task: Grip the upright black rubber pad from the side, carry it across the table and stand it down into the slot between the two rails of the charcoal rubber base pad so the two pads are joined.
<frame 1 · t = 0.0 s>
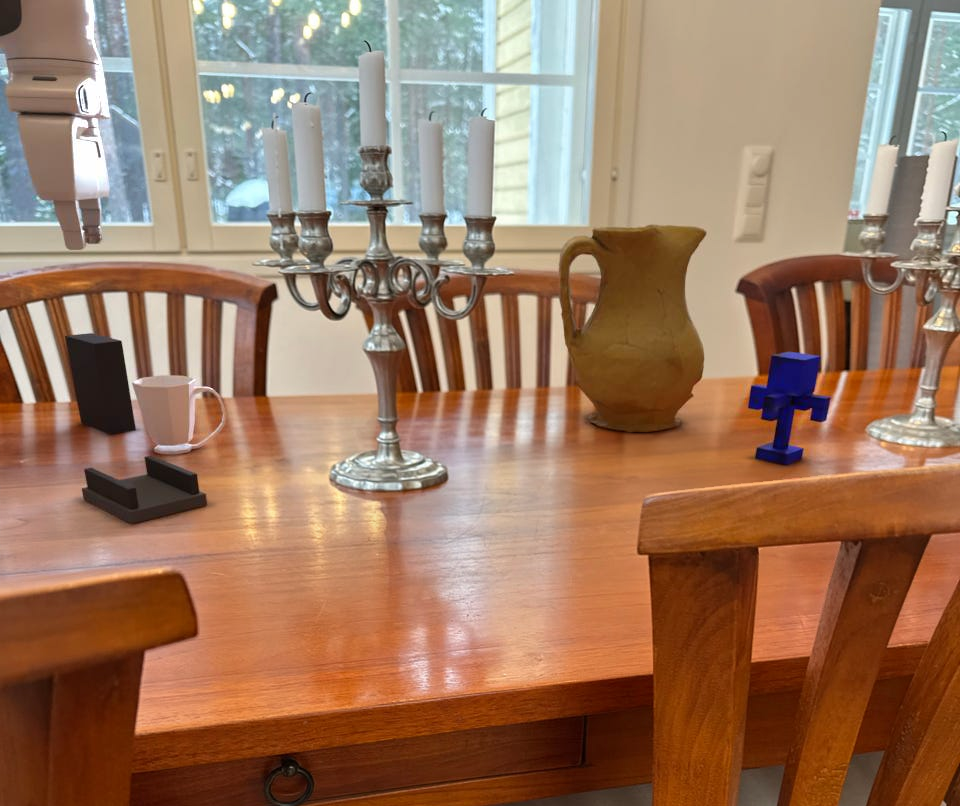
hand: (85, 246, 97), 22 cm above the table, tool pointing down, fingers open, 8 cm apart
pitcher: (626, 421, 124), on the table
upright pad: (108, 426, 116), on the table
base pad: (145, 502, 89), on the table
figurine: (778, 460, 108), on the table
cup: (187, 450, 107), on the table
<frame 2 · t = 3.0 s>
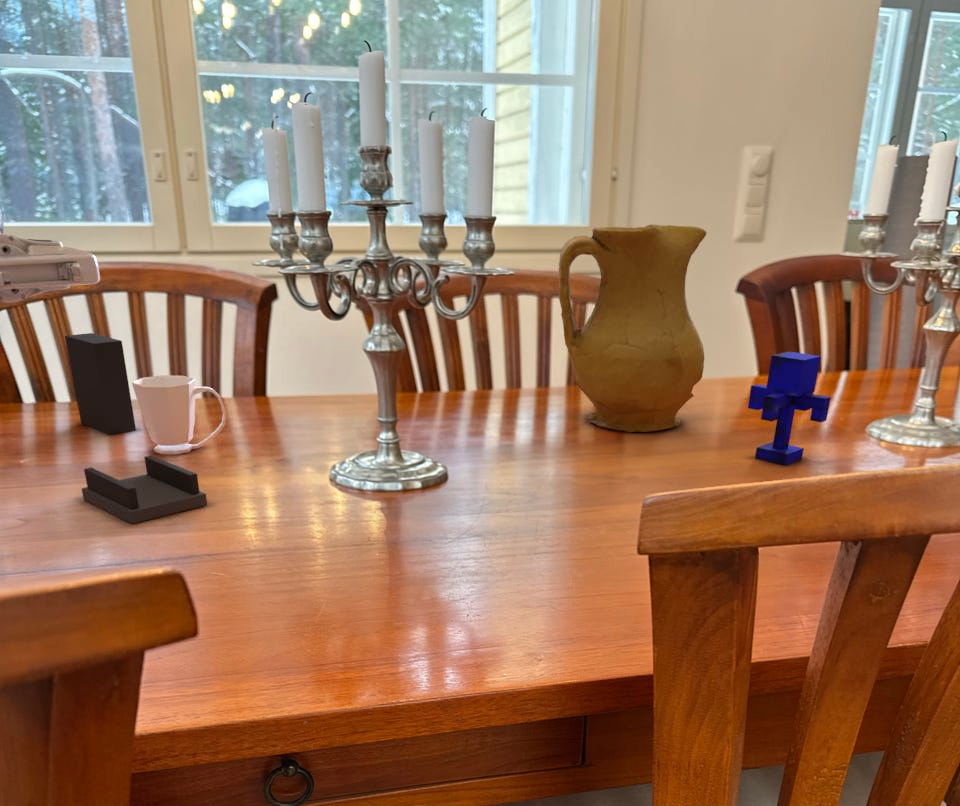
hand: (42, 276, 115), 17 cm above the table, tool horizontal, fingers open, 8 cm apart
nothing on the table moved.
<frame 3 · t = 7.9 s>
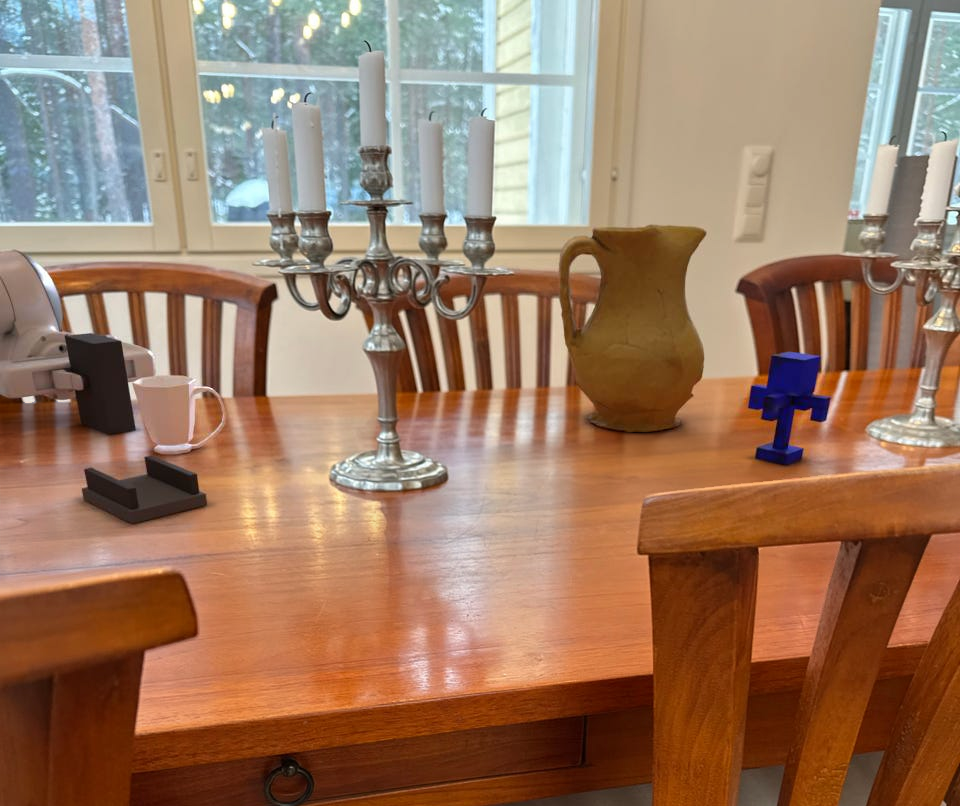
hand: (103, 380, 112), 6 cm above the table, tool horizontal, fingers closed on upright pad, 3 cm apart
upright pad: (108, 426, 116), on the table, touching gripper
everything else where it was.
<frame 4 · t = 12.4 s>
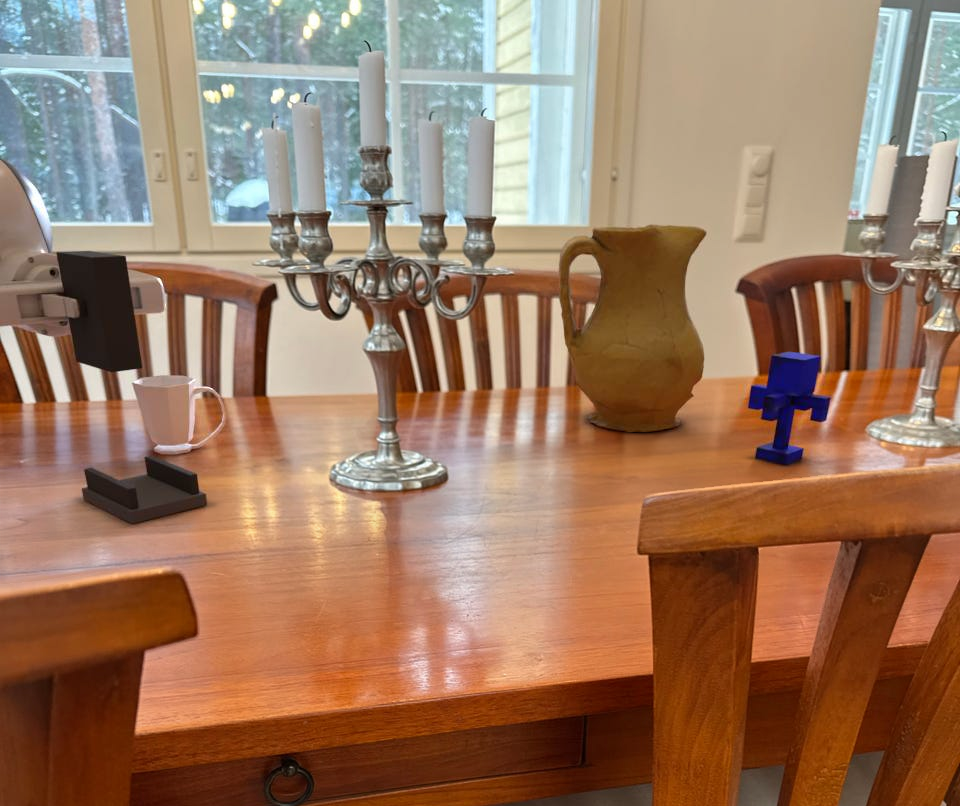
hand: (103, 306, 93), 17 cm above the table, tool horizontal, fingers closed on upright pad, 3 cm apart
upright pad: (109, 365, 96), point 11 cm above the table, touching gripper
everything else where it was.
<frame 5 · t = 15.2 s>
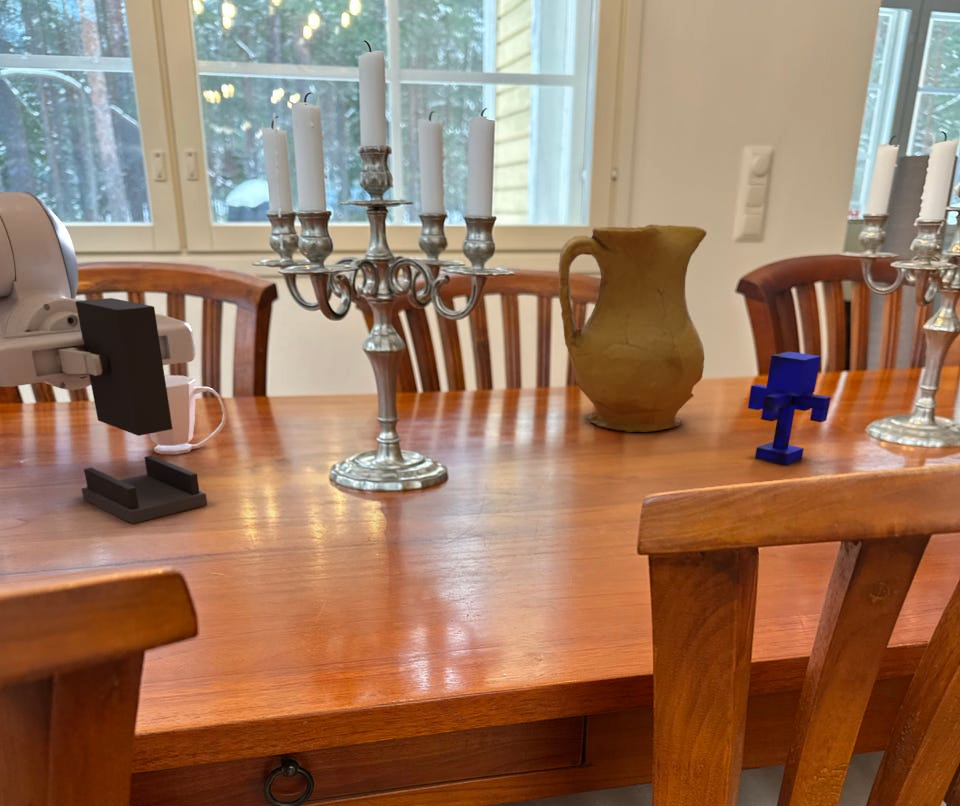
hand: (128, 361, 83), 14 cm above the table, tool horizontal, fingers closed on upright pad, 3 cm apart
upright pad: (134, 424, 86), point 8 cm above the table, touching gripper
everything else where it was.
when the fingers open (7 cm above the table, at t = 17.3 s): upright pad stays where it is, resting on base pad.
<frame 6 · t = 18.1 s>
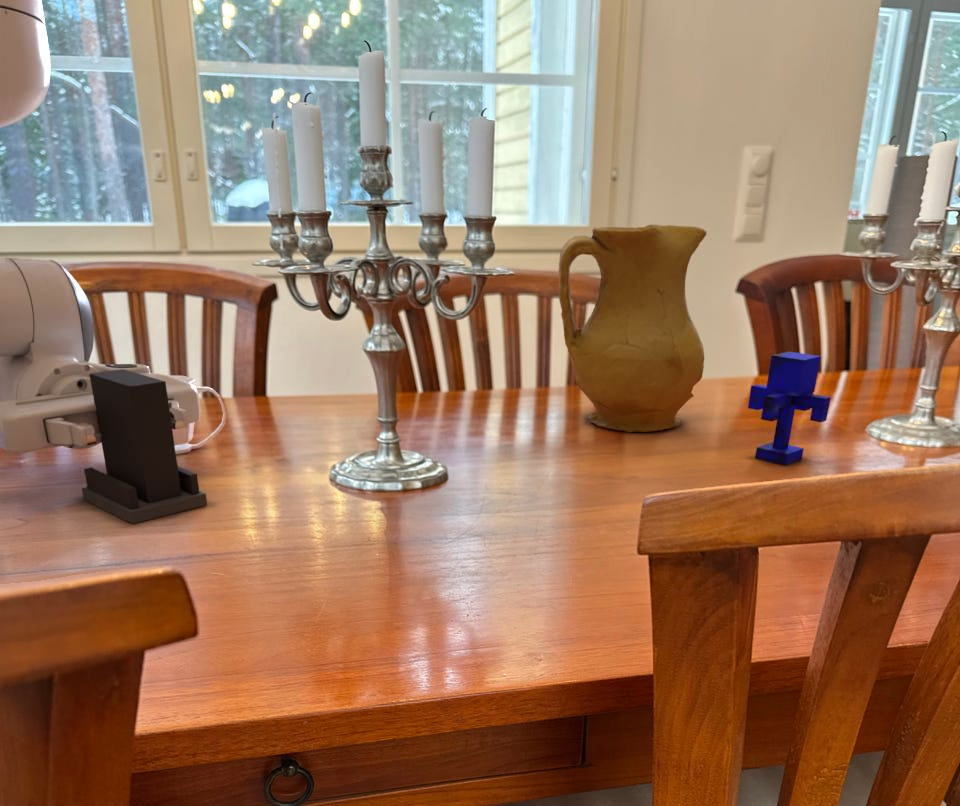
hand: (136, 428, 85), 8 cm above the table, tool horizontal, fingers open, 8 cm apart
upright pad: (144, 490, 89), point 1 cm above the table, touching base pad
everything else where it was.
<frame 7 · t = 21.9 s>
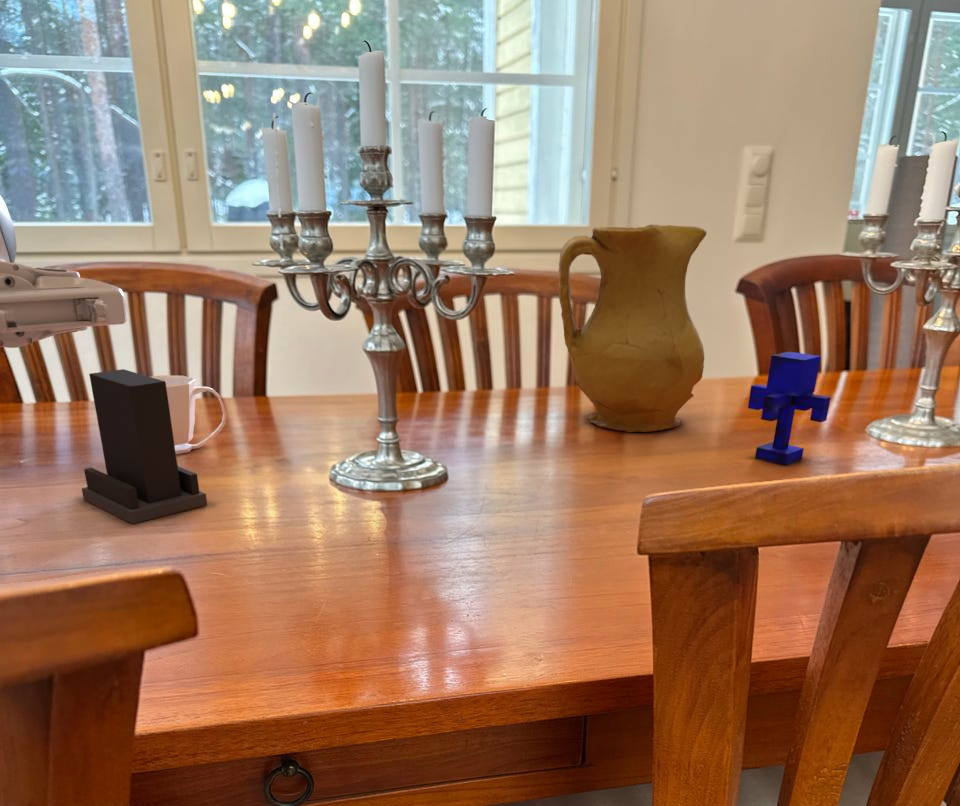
hand: (57, 317, 89), 16 cm above the table, tool horizontal, fingers open, 8 cm apart
nothing on the table moved.
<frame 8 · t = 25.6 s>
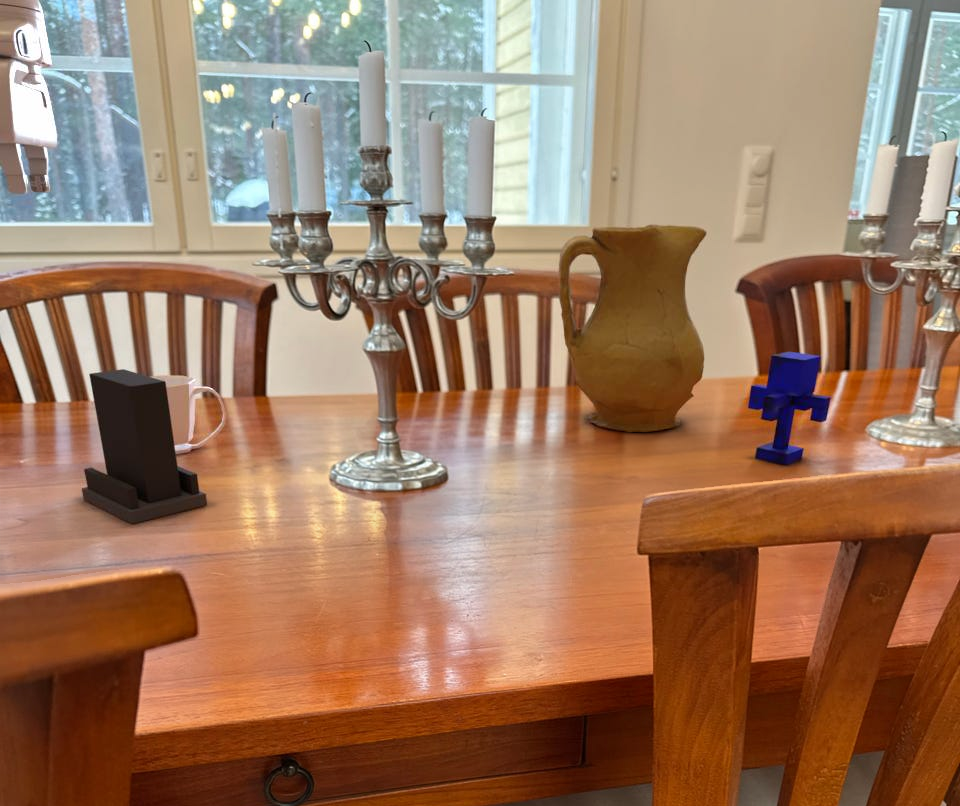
hand: (31, 193, 99), 27 cm above the table, tool pointing down, fingers open, 8 cm apart
nothing on the table moved.
at the end: upright pad 0.1 cm off-centre on the base pad, point 1.2 cm above the base pad's base; upright pad tilted 0°; the gripper is holding nothing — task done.
